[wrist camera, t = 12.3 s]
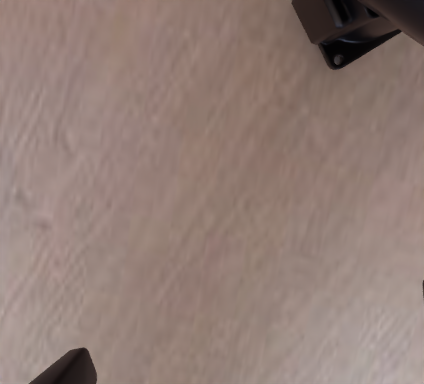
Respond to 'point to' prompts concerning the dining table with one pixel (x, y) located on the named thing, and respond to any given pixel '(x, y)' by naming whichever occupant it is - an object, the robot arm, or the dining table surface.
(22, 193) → the dining table surface
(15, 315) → the dining table surface
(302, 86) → the dining table surface
